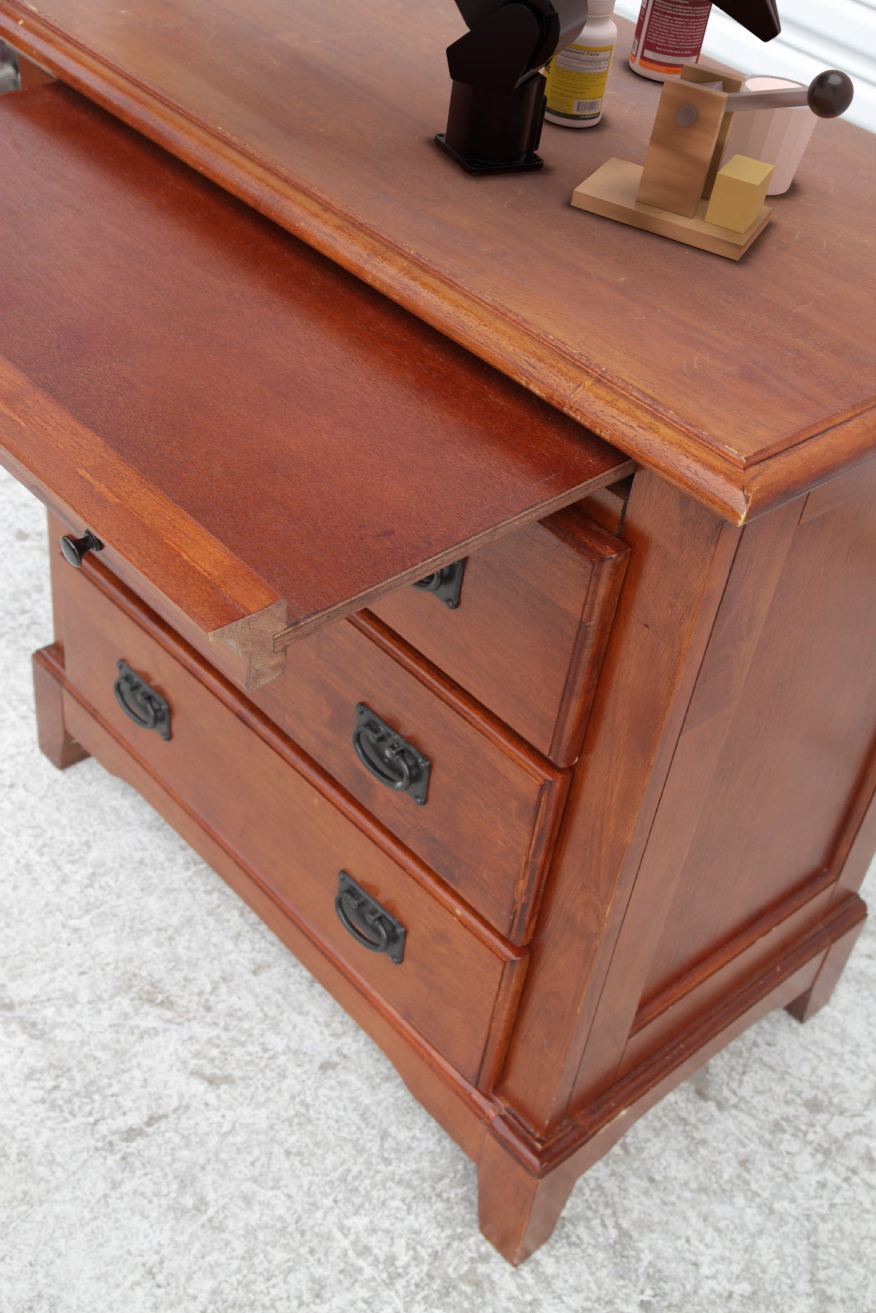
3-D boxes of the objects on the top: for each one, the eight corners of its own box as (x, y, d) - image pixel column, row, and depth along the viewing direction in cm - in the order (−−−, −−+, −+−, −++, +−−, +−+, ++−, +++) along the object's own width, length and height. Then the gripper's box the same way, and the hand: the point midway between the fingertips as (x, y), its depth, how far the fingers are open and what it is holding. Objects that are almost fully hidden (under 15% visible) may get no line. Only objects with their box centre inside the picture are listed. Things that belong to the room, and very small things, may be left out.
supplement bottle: (548, 98, 110) (570, -26, 103) (608, 115, 109) (634, -10, 102) (526, 117, 106) (549, -11, 99) (588, 135, 105) (615, 7, 98)
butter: (743, 234, 92) (758, 185, 89) (703, 221, 93) (717, 172, 90) (760, 213, 95) (775, 165, 92) (721, 201, 96) (735, 153, 93)
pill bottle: (707, 82, 118) (742, -50, 111) (657, 88, 115) (689, -47, 108) (663, 57, 122) (694, -72, 114) (613, 62, 119) (642, -70, 111)
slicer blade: (858, 110, 87) (858, 62, 85) (848, 122, 85) (848, 74, 83) (688, 122, 93) (684, 78, 91) (674, 135, 91) (671, 89, 89)
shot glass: (737, 154, 106) (763, 66, 101) (811, 184, 103) (841, 95, 99) (695, 174, 102) (720, 83, 97) (771, 206, 99) (800, 114, 94)
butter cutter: (768, 223, 97) (810, 89, 90) (737, 261, 91) (780, 122, 85) (609, 171, 100) (638, 39, 93) (570, 205, 94) (598, 67, 88)
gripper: (726, -275, 69) (854, -1, 74) (811, -296, 82) (916, -62, 87) (564, -141, 76) (690, 100, 81) (666, -180, 89) (770, 31, 94)
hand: (773, 38), depth 86 cm, fingers closed
